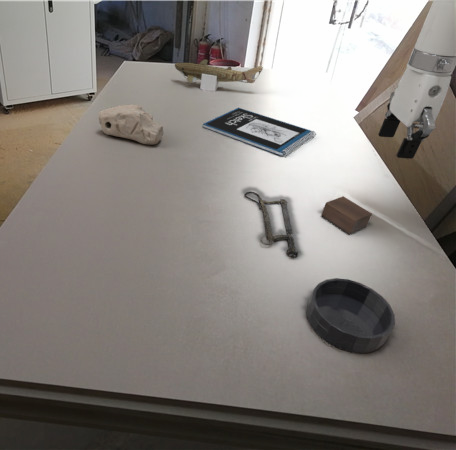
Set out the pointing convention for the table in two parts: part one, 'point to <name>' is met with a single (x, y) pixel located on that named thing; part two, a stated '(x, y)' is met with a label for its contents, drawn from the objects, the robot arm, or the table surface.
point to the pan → (350, 315)
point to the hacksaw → (292, 248)
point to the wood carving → (214, 74)
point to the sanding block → (346, 215)
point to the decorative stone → (130, 124)
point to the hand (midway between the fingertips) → (394, 146)
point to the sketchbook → (260, 131)
